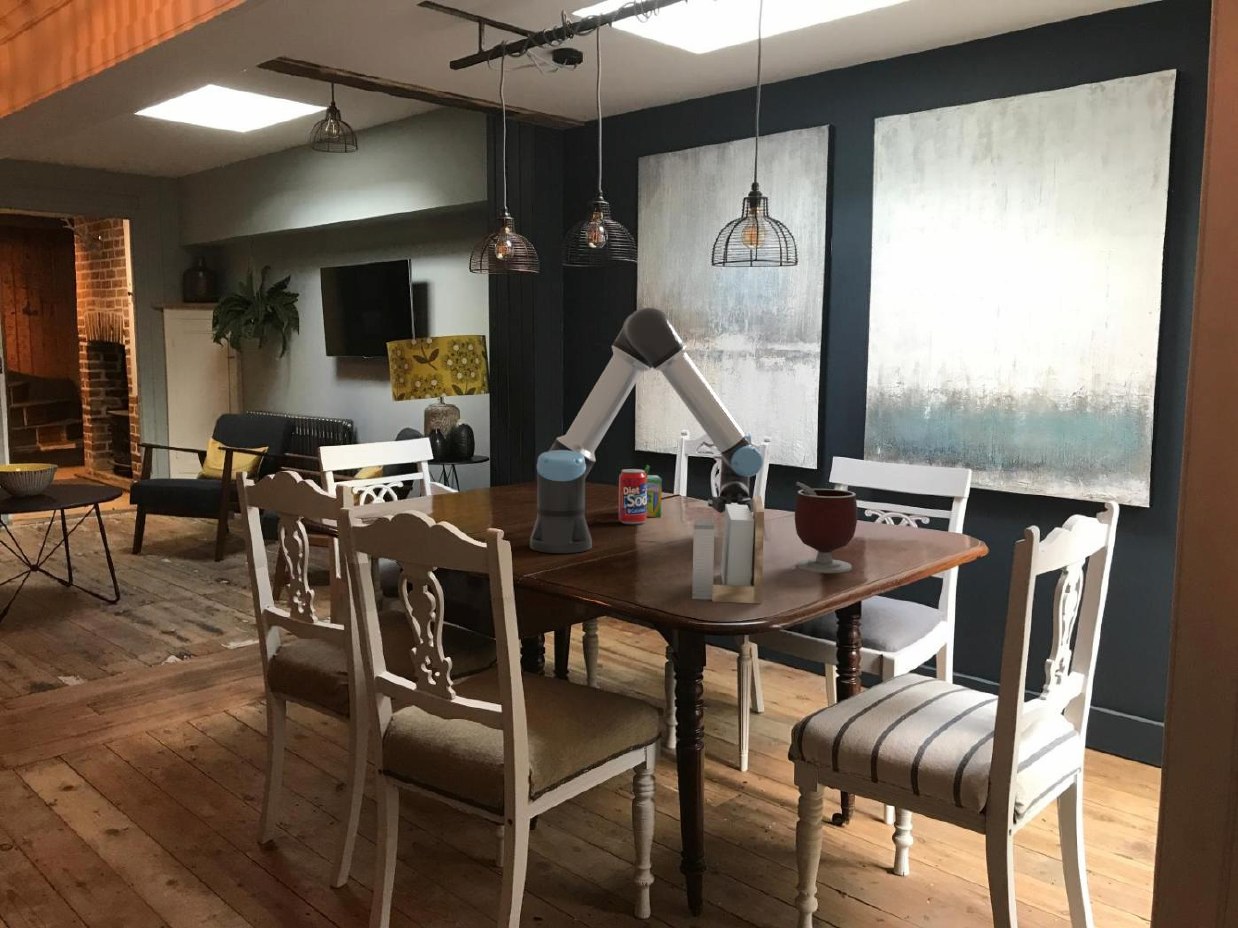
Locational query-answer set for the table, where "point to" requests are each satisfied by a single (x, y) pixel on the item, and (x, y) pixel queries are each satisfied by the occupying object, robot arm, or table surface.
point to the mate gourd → (825, 526)
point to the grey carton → (703, 558)
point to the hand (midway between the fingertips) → (734, 513)
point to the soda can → (632, 496)
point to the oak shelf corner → (755, 591)
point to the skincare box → (737, 545)
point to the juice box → (653, 494)
